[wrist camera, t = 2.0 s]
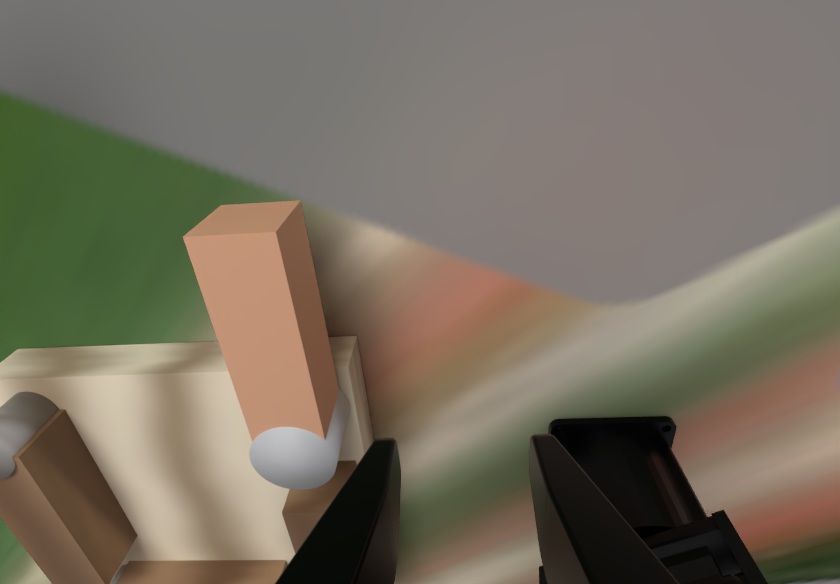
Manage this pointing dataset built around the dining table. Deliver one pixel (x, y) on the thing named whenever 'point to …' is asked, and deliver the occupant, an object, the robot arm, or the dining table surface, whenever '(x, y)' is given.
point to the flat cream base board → (152, 466)
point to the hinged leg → (273, 337)
